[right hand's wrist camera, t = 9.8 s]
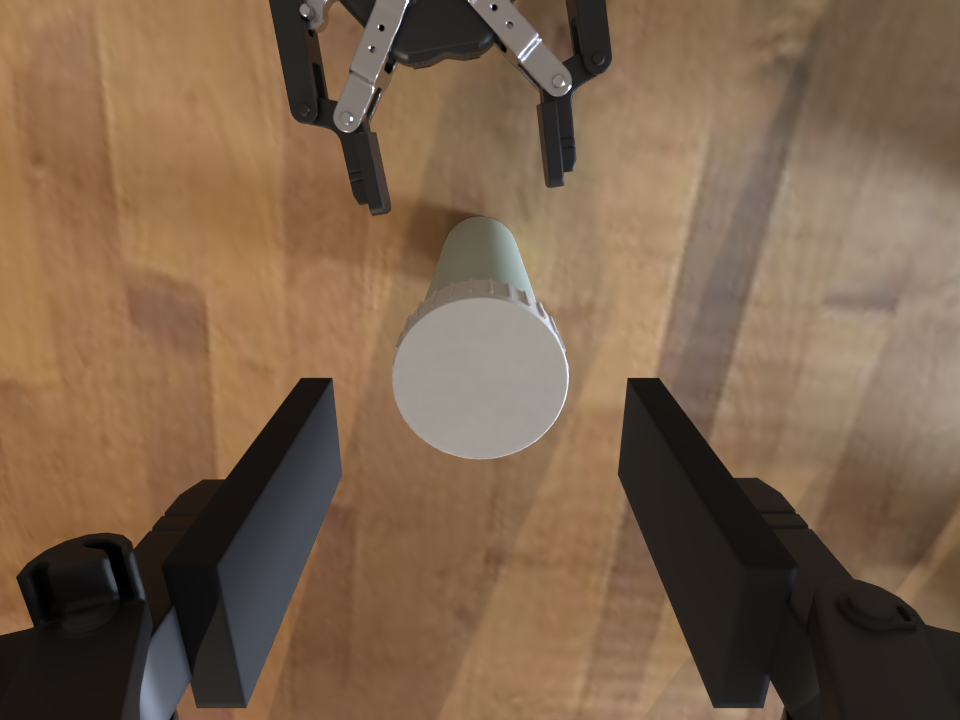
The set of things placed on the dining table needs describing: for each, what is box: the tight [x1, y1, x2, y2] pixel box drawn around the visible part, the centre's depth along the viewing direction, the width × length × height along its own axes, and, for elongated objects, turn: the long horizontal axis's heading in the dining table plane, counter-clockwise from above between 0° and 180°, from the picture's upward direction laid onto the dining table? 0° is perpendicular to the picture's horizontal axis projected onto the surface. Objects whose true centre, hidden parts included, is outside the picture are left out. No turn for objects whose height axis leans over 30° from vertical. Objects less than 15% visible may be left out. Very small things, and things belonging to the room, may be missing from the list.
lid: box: [392, 278, 569, 459], centre depth 18 cm, size 5×5×2 cm
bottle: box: [425, 216, 536, 301], centre depth 27 cm, size 5×5×20 cm
